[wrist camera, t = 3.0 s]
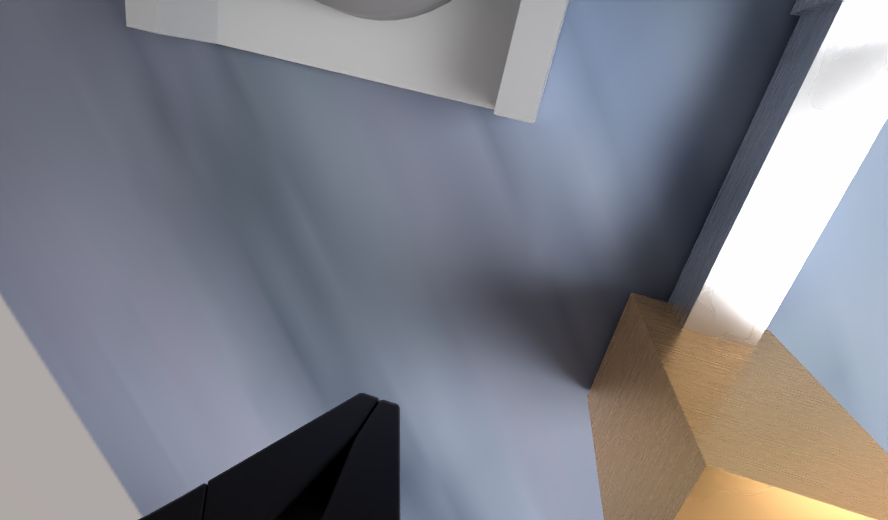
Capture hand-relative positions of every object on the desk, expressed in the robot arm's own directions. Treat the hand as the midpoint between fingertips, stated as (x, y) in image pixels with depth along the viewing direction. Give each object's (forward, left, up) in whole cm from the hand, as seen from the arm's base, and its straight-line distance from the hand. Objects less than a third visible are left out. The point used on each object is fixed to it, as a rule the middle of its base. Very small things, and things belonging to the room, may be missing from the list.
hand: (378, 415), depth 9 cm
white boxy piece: (+5, -2, -5) cm, 7 cm away
